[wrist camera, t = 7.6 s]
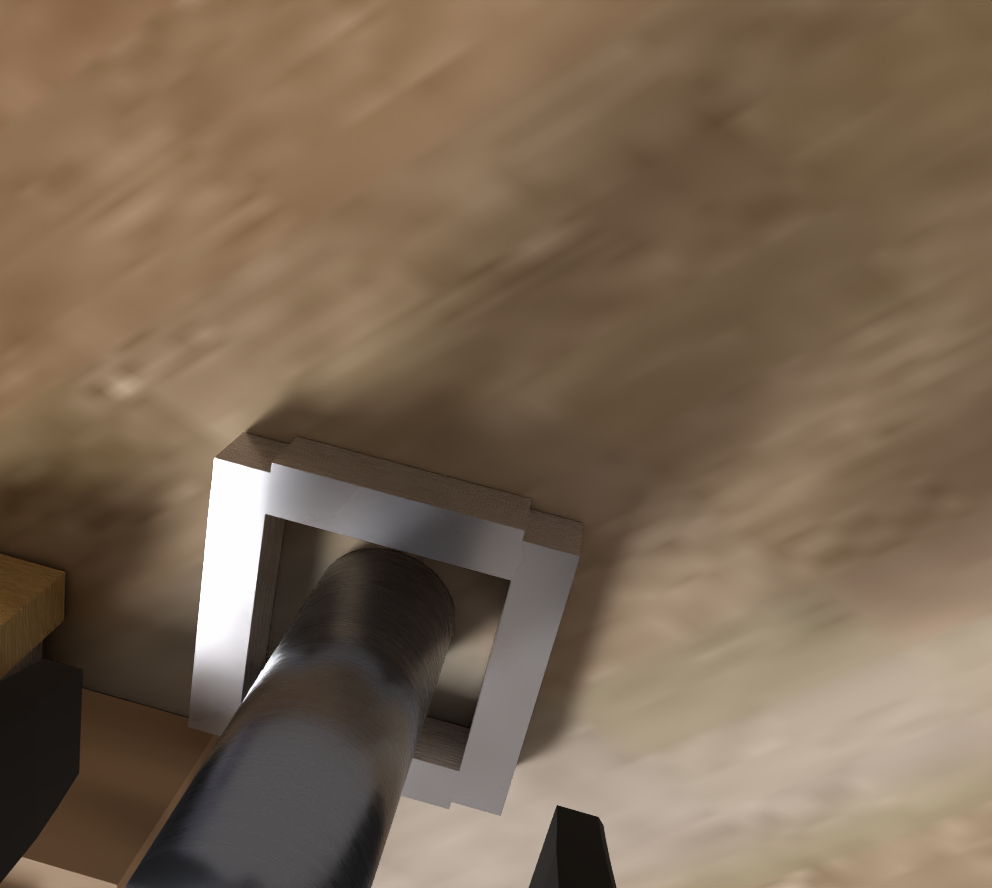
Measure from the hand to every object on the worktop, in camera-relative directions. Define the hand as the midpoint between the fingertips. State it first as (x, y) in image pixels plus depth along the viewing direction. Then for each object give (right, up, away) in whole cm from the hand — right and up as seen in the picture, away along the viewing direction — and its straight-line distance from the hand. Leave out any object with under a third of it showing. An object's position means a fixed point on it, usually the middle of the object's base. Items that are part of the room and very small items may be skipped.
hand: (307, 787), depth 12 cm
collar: (+1, +2, +4) cm, 5 cm away
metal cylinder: (+1, +2, +4) cm, 5 cm away
